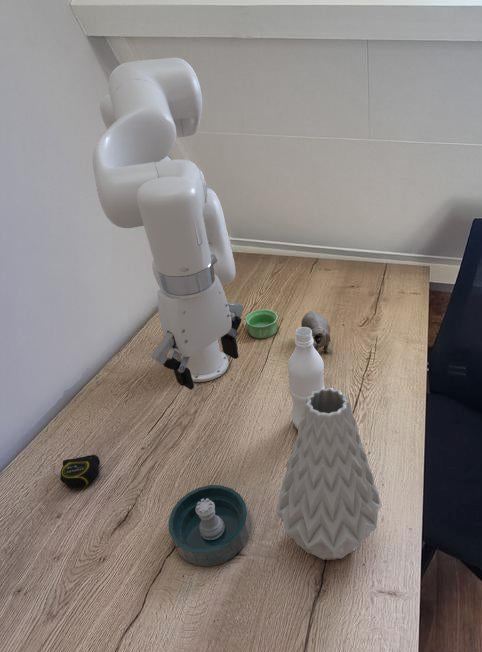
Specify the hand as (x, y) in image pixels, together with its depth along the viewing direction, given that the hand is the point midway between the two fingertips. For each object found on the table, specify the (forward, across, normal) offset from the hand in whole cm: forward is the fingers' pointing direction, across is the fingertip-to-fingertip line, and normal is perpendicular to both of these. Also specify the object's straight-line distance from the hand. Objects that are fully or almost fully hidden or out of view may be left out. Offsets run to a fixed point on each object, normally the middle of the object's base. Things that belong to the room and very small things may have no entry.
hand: (209, 369), depth 75 cm
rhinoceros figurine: (+26, -40, -11) cm, 49 cm away
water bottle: (+26, -18, +5) cm, 32 cm away
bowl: (+25, +13, +8) cm, 30 cm away
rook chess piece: (+25, +13, +8) cm, 29 cm away
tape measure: (+26, +21, -23) cm, 40 cm away
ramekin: (+27, -39, -29) cm, 55 cm away
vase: (+25, +1, +25) cm, 36 cm away
